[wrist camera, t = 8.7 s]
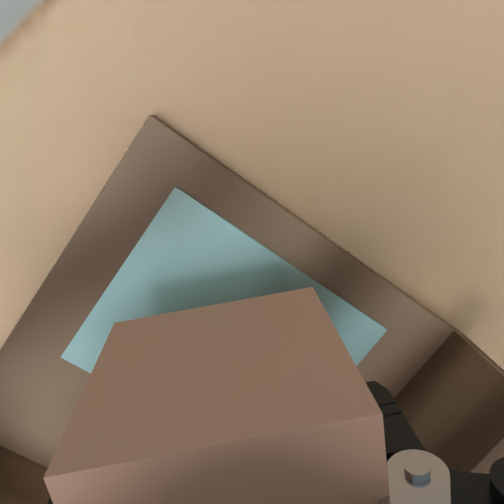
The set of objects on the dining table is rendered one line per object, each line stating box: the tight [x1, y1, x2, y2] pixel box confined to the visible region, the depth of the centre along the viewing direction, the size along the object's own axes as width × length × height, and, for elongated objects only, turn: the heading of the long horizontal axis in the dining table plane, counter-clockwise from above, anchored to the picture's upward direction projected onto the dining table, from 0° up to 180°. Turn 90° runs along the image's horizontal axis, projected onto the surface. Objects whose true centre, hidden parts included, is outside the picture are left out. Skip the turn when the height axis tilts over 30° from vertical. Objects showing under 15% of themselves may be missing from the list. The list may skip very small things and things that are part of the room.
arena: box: [0, 115, 504, 504], centre depth 17 cm, size 16×16×6 cm
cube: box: [43, 287, 390, 504], centre depth 12 cm, size 6×6×6 cm
